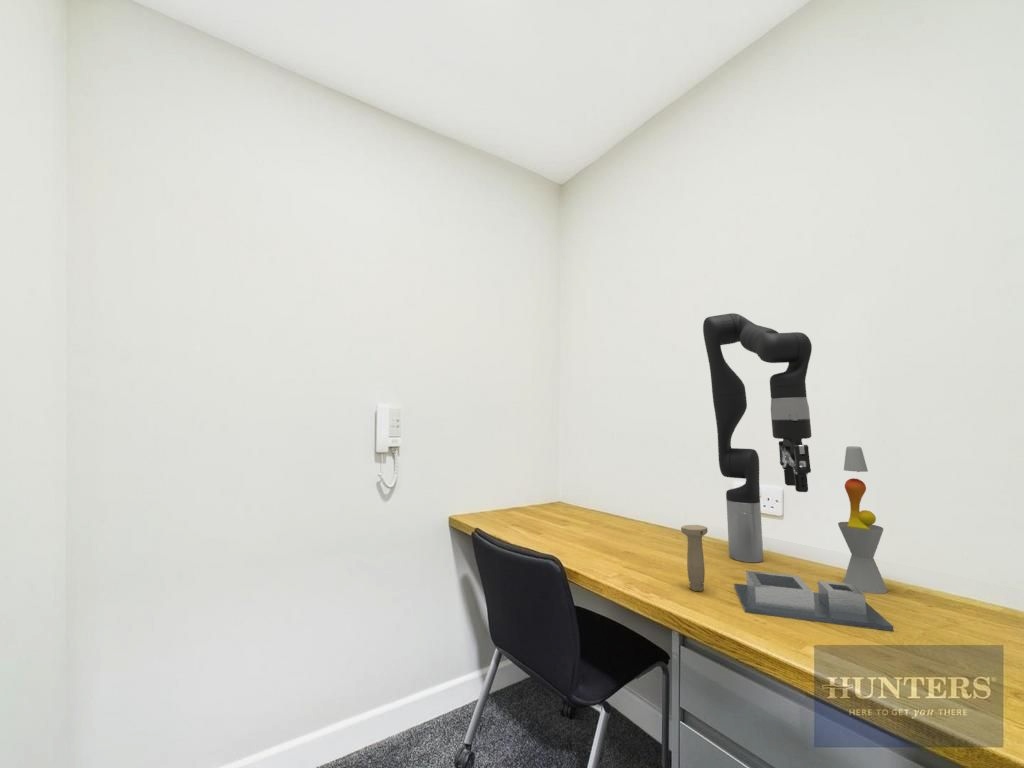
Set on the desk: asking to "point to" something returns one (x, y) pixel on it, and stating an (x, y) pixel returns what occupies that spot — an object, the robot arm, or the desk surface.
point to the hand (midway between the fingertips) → (796, 488)
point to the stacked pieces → (860, 531)
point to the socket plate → (808, 601)
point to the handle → (695, 555)
